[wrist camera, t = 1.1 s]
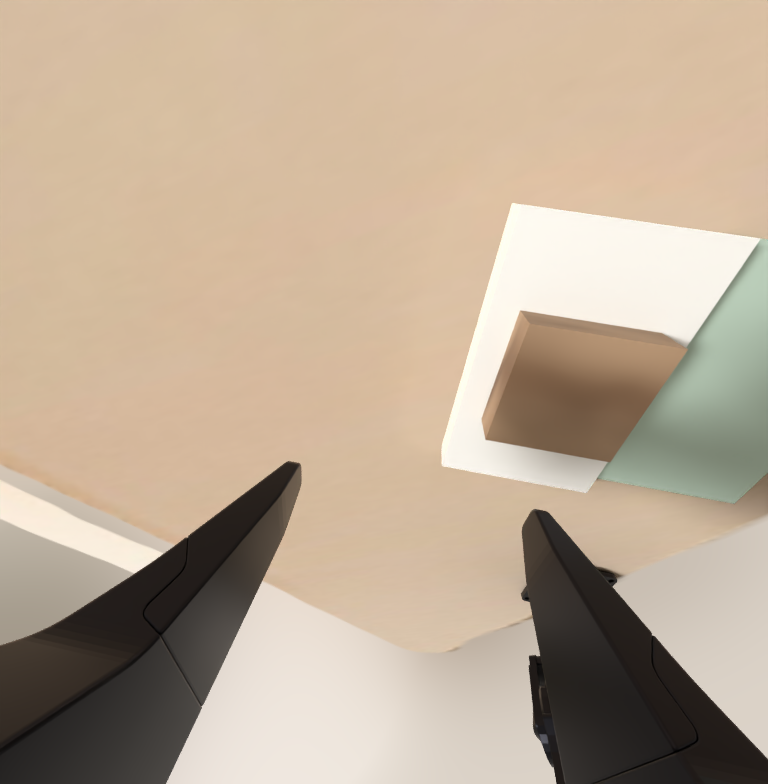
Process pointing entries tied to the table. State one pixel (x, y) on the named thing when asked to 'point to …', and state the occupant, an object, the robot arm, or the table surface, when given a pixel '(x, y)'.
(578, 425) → the tile
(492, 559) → the table surface
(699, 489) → the mat
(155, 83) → the table surface
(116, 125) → the table surface
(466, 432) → the plate
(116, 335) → the table surface
